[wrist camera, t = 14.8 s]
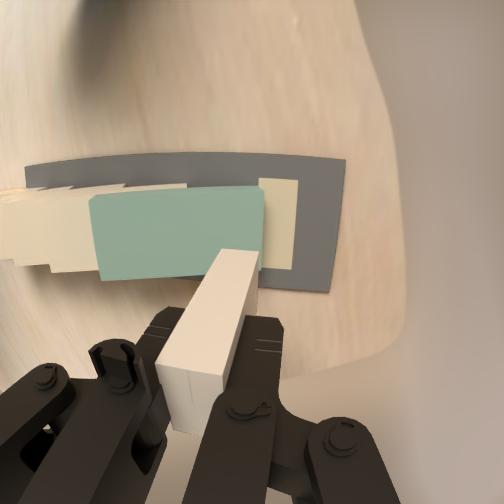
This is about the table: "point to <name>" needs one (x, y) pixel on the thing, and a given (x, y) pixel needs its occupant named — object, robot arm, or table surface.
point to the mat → (238, 174)
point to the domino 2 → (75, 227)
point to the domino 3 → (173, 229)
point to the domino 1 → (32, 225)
